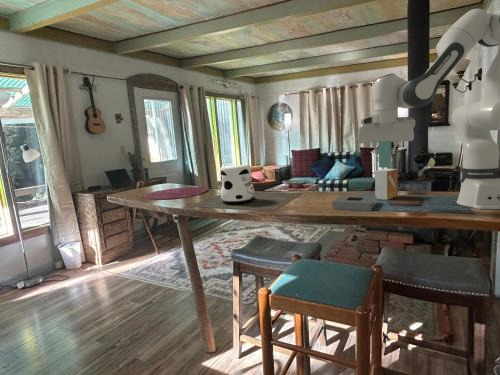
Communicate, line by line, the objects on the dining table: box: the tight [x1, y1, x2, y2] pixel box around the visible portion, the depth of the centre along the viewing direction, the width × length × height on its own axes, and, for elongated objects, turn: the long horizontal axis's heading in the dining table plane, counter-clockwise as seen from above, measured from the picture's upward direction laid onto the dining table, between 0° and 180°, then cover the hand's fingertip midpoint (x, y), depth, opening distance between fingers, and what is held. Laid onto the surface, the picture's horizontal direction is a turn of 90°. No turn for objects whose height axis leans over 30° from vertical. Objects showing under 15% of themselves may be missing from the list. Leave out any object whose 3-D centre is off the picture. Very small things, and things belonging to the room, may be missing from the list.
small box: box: [374, 168, 399, 201], centre depth 146 cm, size 8×6×13 cm
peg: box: [378, 142, 392, 169], centre depth 127 cm, size 4×4×10 cm
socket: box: [331, 194, 378, 212], centre depth 136 cm, size 15×15×3 cm
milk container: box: [219, 164, 255, 204], centre depth 163 cm, size 17×17×18 cm
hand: (384, 154), depth 127 cm, fingers closed on peg, 4 cm apart
